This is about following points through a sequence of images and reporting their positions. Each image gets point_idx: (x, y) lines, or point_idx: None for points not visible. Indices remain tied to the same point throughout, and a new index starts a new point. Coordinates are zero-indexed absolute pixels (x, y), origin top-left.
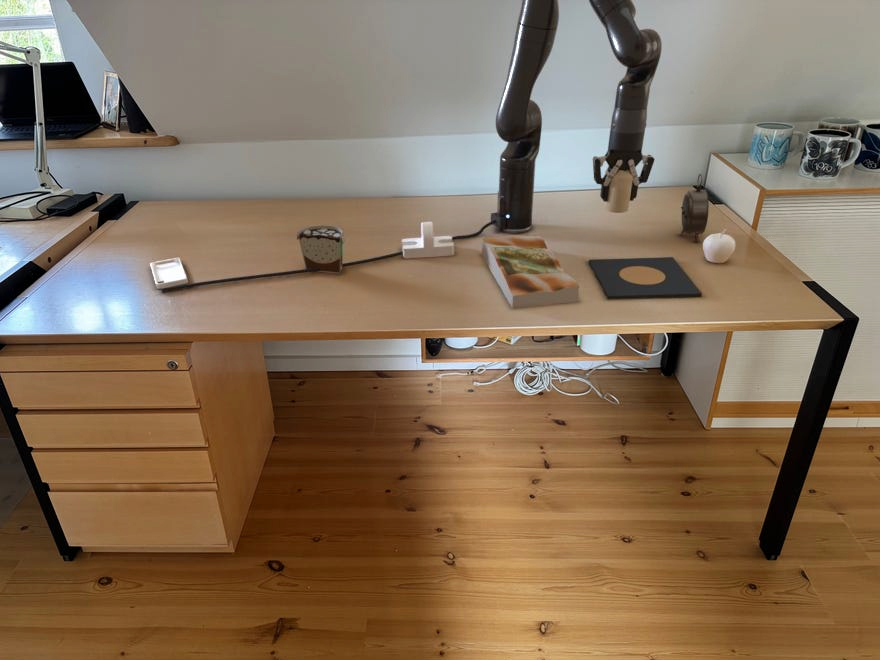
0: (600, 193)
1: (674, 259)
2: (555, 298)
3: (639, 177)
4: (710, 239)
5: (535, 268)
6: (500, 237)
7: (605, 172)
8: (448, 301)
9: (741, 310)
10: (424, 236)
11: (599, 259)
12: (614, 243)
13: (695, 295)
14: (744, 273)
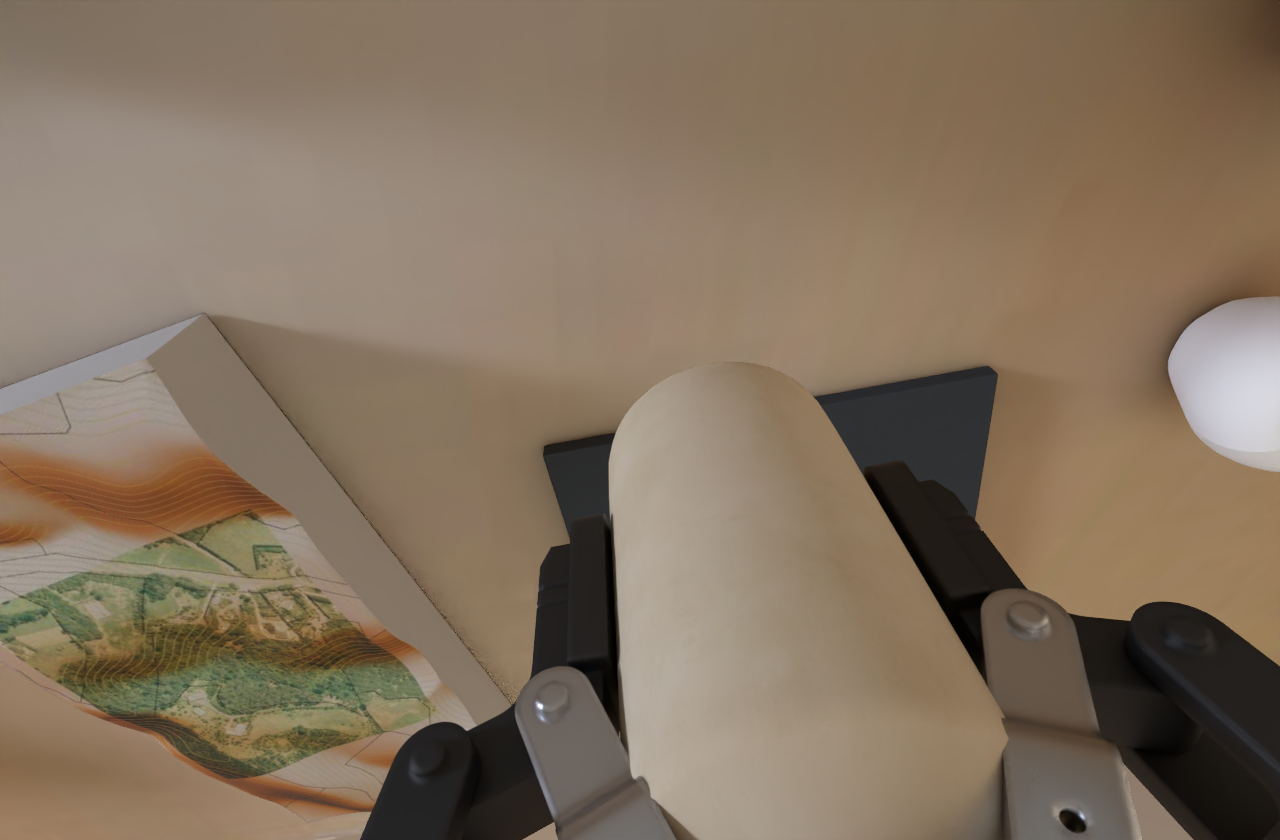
0: (539, 587)
1: (992, 404)
2: None
3: (1113, 711)
4: (1264, 436)
5: (315, 715)
6: None
7: (558, 833)
8: (93, 773)
9: None
10: None
11: (599, 449)
12: (712, 128)
13: None
14: (1238, 465)
